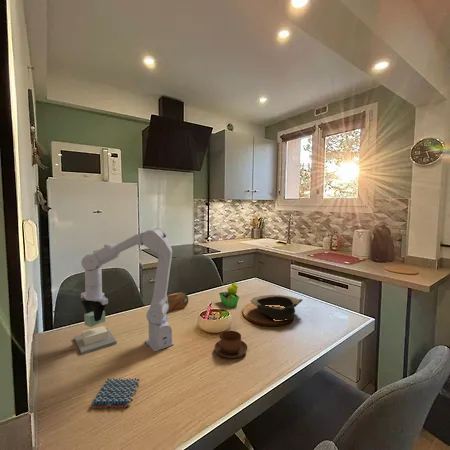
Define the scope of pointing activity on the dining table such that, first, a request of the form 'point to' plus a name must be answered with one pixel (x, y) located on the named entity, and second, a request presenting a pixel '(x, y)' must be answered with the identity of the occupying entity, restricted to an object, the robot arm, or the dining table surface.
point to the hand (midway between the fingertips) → (94, 318)
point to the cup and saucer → (230, 345)
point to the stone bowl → (273, 311)
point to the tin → (177, 301)
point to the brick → (91, 321)
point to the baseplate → (95, 345)
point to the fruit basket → (230, 296)
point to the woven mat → (116, 393)
